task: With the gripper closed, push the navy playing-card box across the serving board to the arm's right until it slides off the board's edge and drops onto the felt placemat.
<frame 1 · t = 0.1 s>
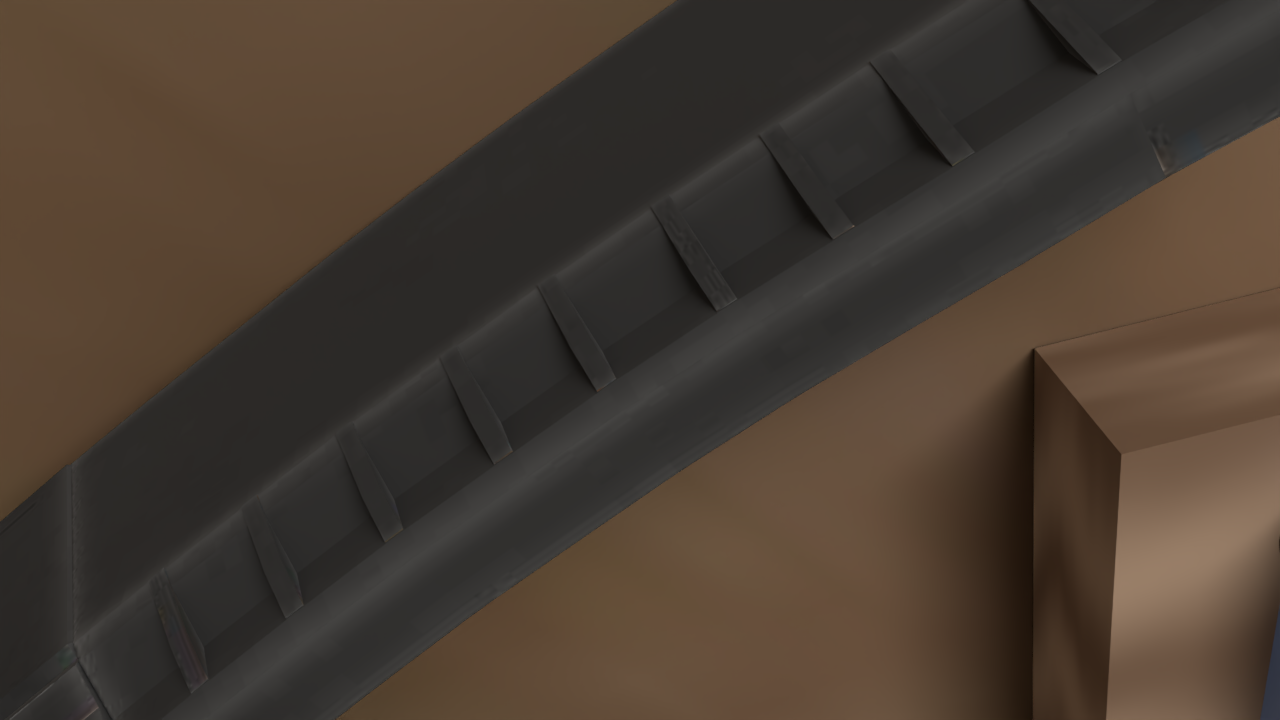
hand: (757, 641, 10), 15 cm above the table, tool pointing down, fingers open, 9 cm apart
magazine: (583, 151, 23), on the table
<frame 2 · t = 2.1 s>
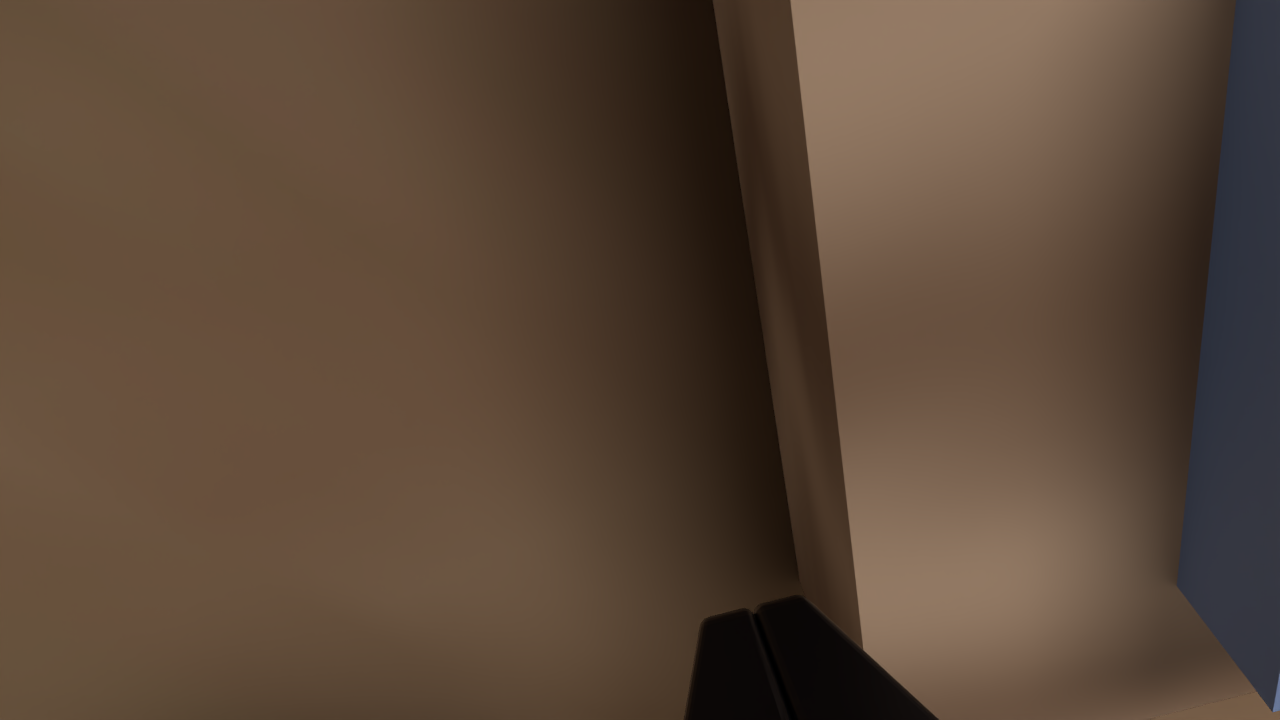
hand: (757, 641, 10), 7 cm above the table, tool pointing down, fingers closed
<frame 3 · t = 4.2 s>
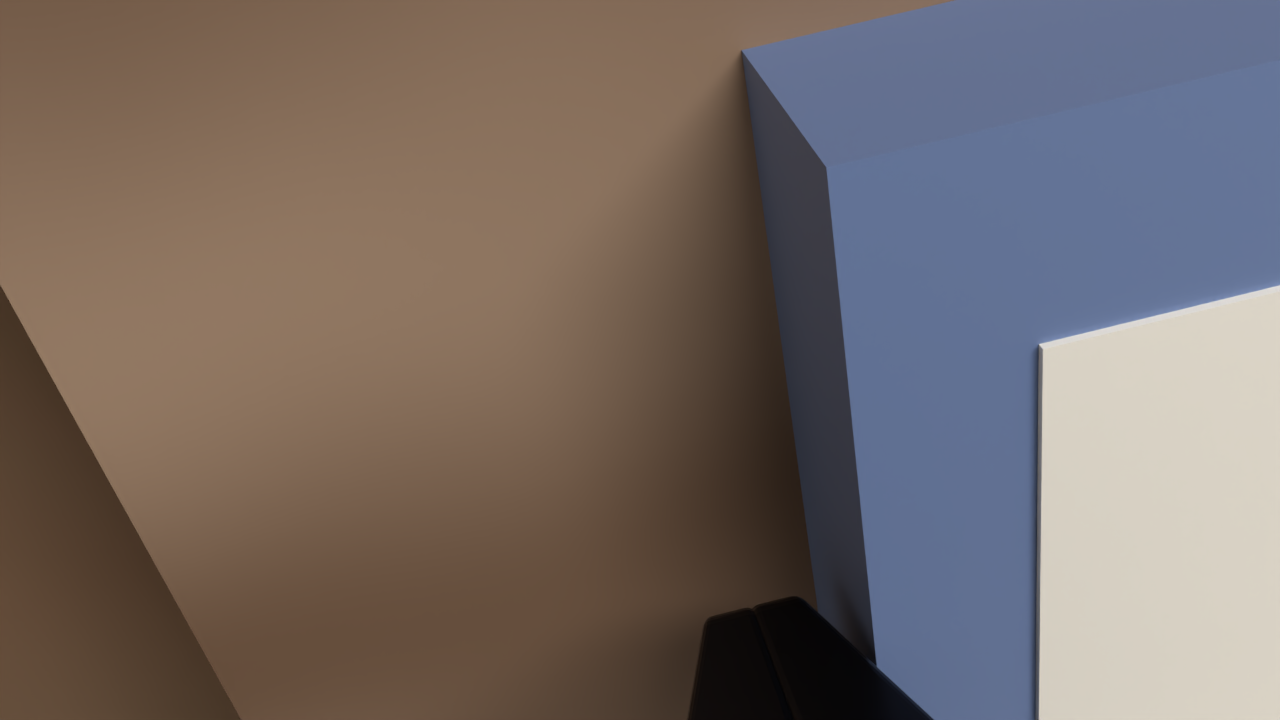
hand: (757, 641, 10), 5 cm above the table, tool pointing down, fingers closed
card box: (1132, 456, 11), point 4 cm above the table, touching gripper
board: (937, 259, 14), on the table
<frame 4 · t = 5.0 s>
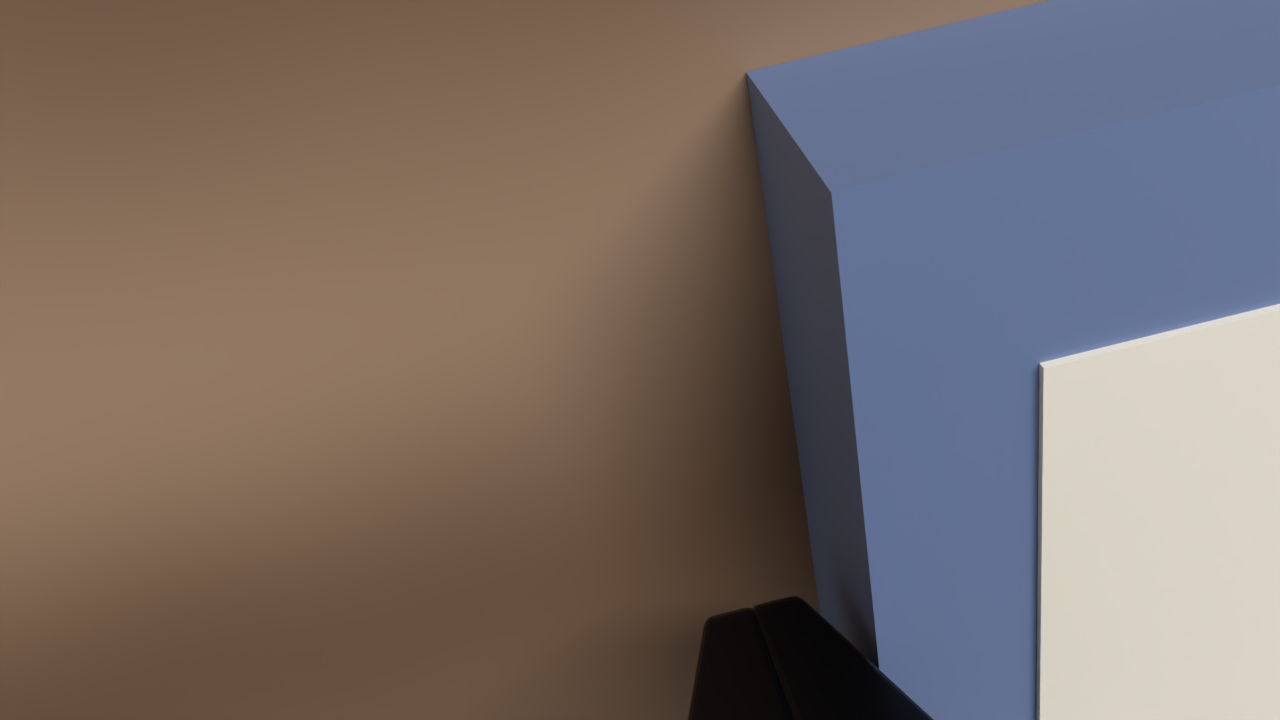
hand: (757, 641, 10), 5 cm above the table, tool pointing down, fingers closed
card box: (1131, 467, 11), point 4 cm above the table, touching board, gripper
board: (543, 352, 14), on the table
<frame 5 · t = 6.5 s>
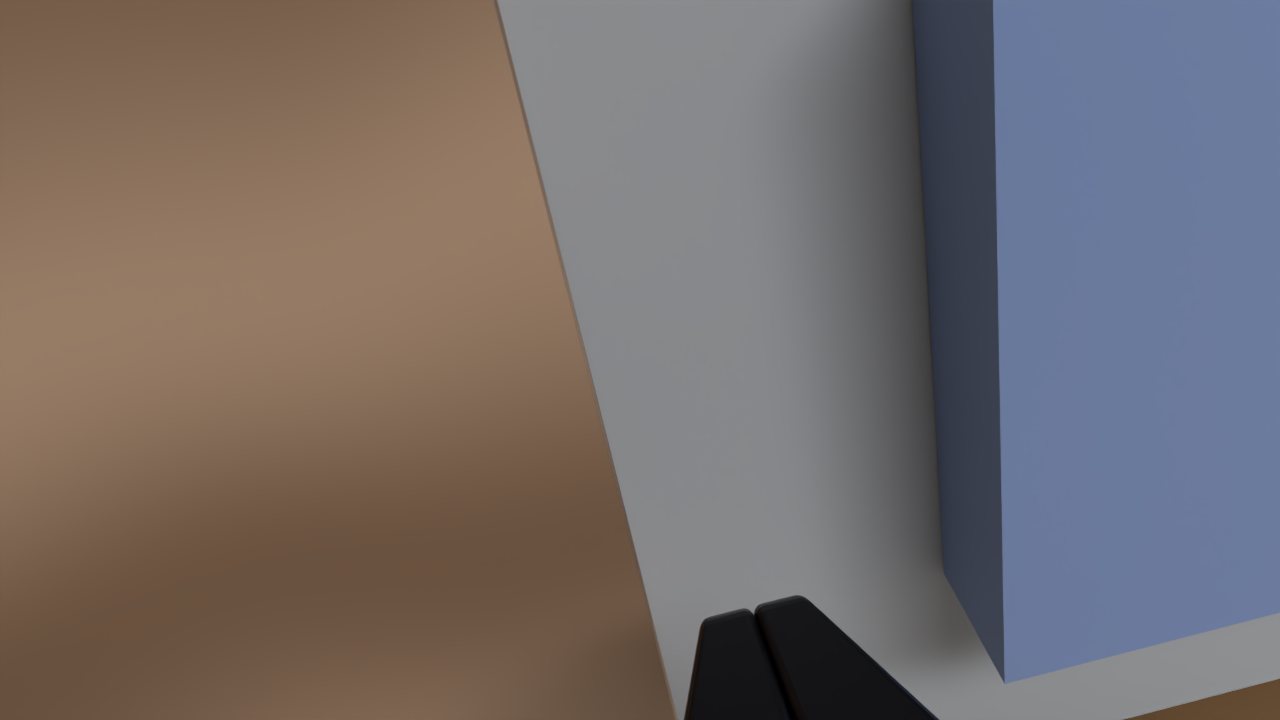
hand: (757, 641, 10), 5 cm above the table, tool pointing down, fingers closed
card box: (1279, 321, 12), point 2 cm above the table, tilted 180°, touching mat
mat: (1159, 202, 14), on the table
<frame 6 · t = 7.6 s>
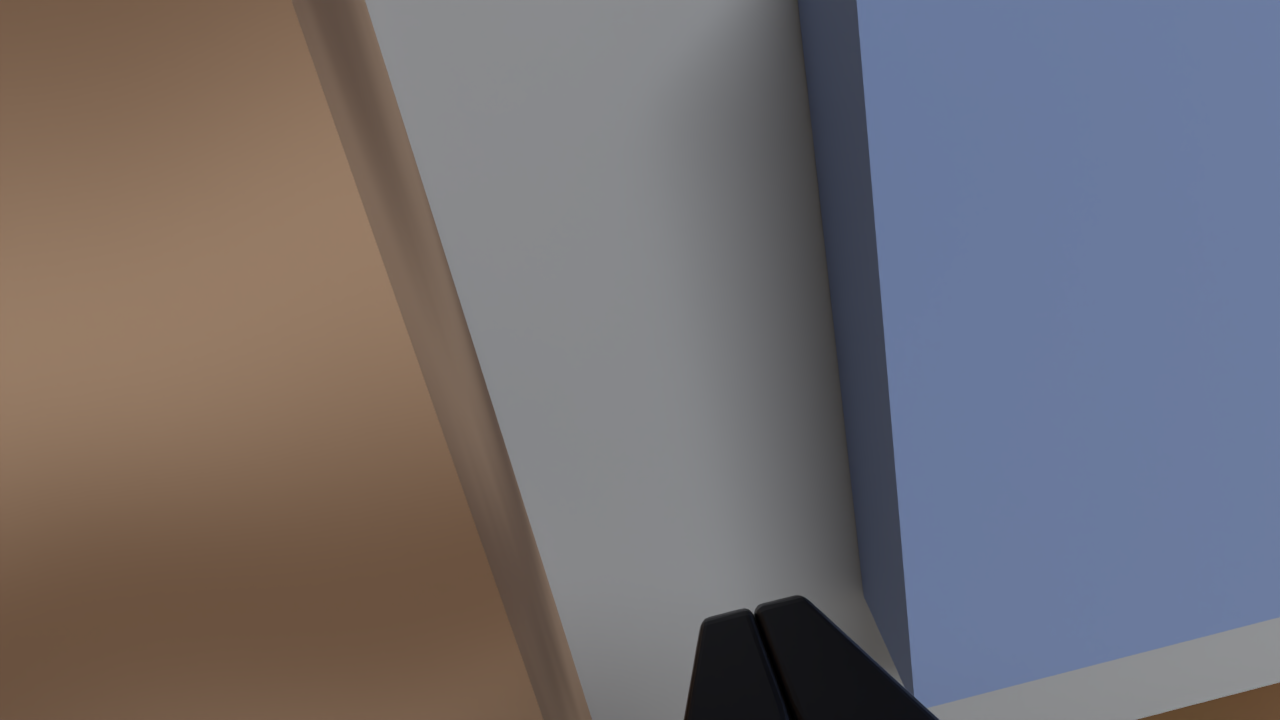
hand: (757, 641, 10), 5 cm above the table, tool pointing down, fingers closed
card box: (1176, 349, 12), point 2 cm above the table, tilted 180°, touching mat
mat: (1069, 225, 14), on the table
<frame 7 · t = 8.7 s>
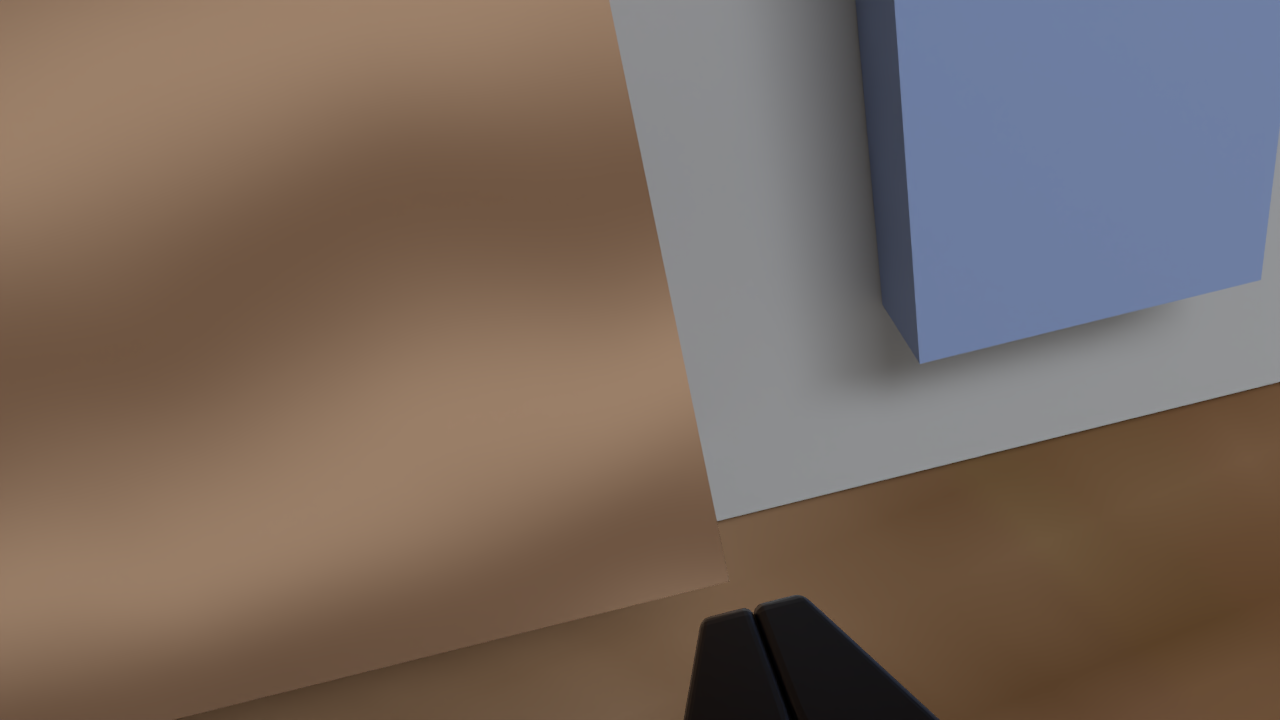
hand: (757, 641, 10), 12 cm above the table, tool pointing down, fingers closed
card box: (1098, 72, 18), point 2 cm above the table, tilted 180°, touching mat
board: (133, 224, 19), on the table
mat: (1030, 7, 20), on the table
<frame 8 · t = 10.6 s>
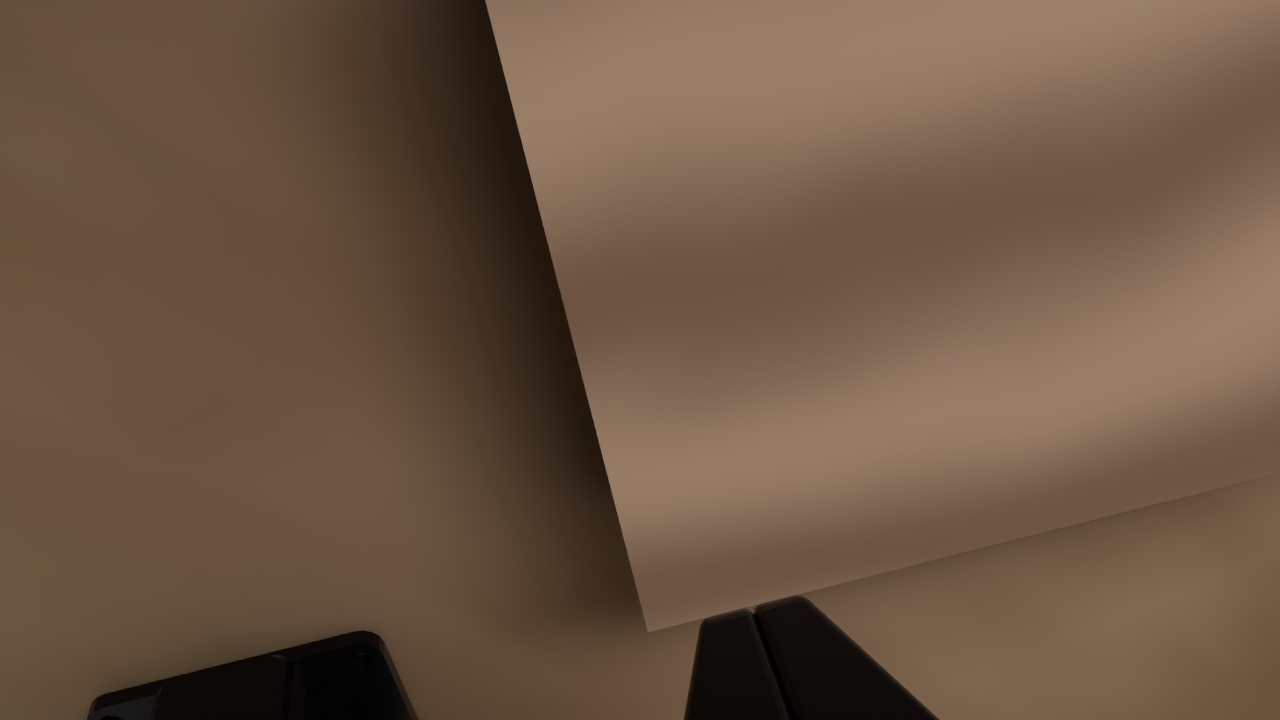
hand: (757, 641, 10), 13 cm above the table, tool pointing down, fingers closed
board: (970, 102, 22), on the table
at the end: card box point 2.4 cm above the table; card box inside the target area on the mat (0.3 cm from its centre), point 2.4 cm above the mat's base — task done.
